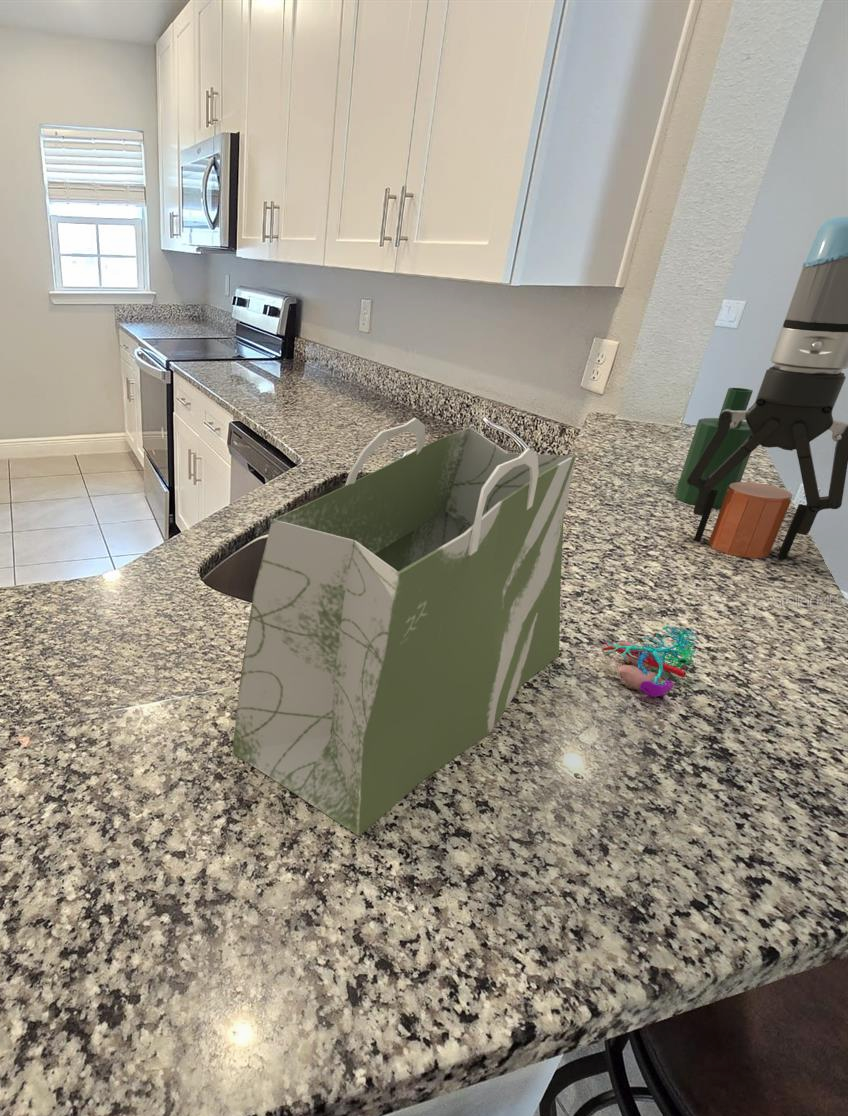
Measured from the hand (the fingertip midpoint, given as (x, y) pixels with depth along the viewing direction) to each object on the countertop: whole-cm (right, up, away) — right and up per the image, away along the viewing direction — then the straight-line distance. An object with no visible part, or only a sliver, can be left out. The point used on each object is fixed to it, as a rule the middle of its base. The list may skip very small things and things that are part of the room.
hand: (739, 546), depth 88 cm
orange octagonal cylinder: (0, 0, 0) cm, 0 cm away
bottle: (+7, +9, +18) cm, 21 cm away
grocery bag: (-51, -16, -30) cm, 61 cm away
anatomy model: (-29, -14, -27) cm, 42 cm away
